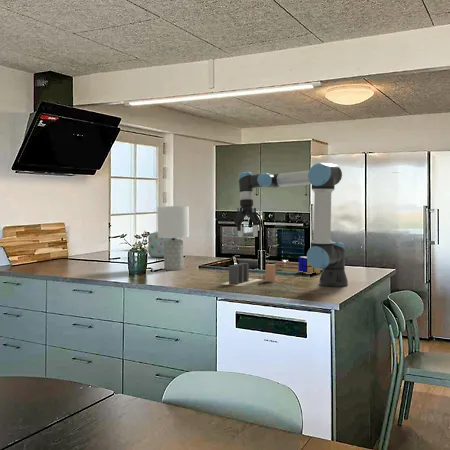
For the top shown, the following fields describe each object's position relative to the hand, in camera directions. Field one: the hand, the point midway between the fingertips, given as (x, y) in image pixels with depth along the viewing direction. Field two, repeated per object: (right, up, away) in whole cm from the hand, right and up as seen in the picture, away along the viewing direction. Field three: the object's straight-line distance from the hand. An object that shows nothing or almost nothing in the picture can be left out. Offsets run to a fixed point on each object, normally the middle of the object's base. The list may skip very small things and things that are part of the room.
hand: (248, 236), depth 299 cm
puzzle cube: (+39, -24, +29) cm, 55 cm away
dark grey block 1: (-8, -25, -14) cm, 30 cm away
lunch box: (-60, -19, +120) cm, 136 cm away
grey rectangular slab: (-5, -25, -9) cm, 27 cm away
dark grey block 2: (-3, -25, -5) cm, 25 cm away
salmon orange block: (+12, -25, -5) cm, 29 cm away
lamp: (-47, -23, +51) cm, 73 cm away
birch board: (-4, -25, -6) cm, 26 cm away
